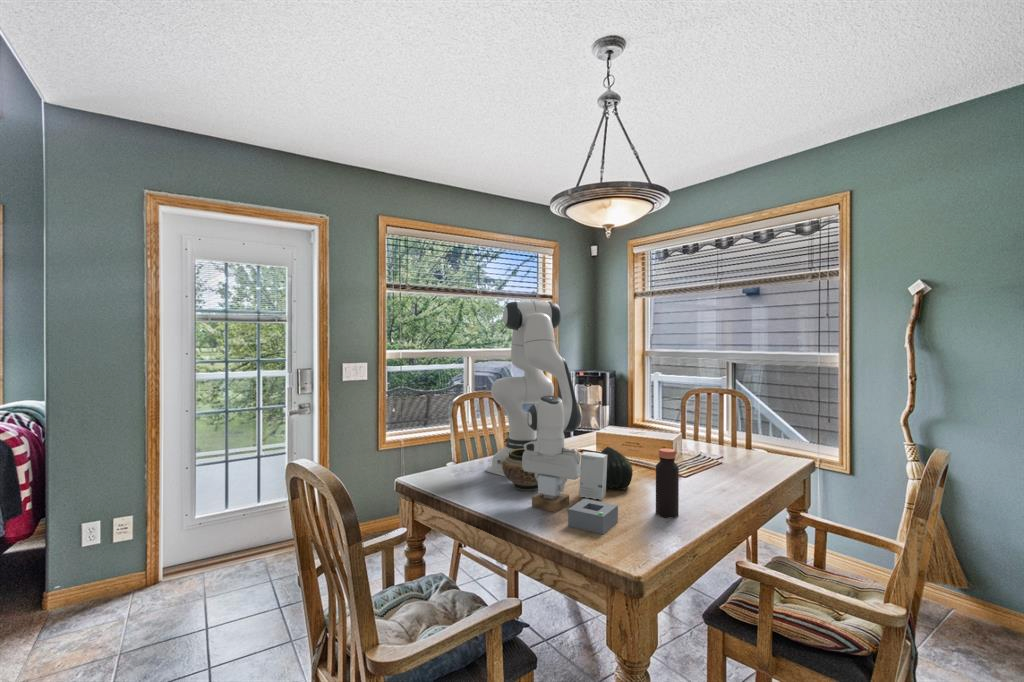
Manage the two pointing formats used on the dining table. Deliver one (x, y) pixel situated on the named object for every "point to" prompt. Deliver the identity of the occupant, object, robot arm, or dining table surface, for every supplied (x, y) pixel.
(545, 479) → the plug
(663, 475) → the bottle
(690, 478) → the dining table surface
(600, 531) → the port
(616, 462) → the squash
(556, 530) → the dining table surface
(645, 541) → the dining table surface
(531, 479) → the ceramic bowl
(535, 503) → the cradle
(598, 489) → the skincare box
